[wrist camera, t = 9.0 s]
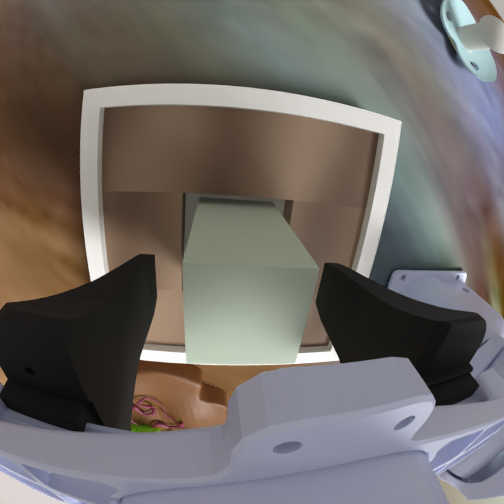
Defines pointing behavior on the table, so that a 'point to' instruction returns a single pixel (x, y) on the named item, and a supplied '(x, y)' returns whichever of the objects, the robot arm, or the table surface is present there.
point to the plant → (174, 398)
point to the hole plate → (228, 188)
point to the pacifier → (473, 38)
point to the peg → (245, 285)
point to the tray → (237, 99)
